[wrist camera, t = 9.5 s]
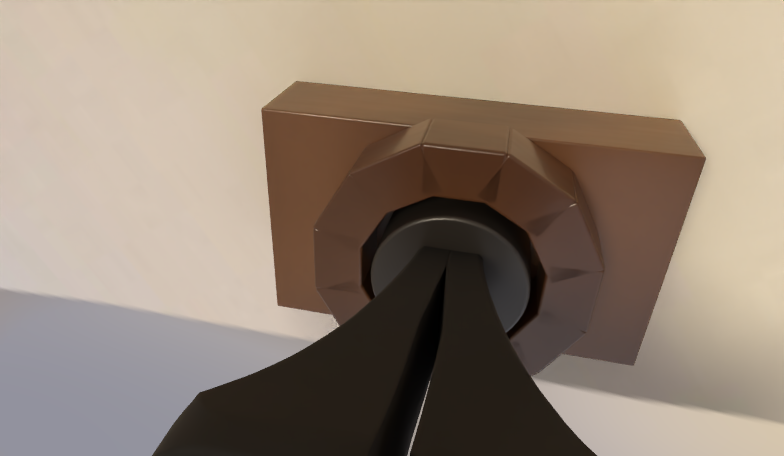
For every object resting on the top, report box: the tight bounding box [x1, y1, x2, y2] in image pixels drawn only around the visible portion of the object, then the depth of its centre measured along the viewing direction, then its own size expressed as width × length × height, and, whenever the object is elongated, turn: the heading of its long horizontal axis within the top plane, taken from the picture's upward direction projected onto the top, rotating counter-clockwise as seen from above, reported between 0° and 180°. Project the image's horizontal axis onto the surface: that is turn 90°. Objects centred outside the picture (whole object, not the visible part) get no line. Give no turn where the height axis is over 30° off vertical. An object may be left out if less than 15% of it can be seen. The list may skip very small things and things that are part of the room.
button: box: [371, 196, 531, 332], centre depth 13 cm, size 4×4×2 cm
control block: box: [262, 81, 706, 380], centre depth 15 cm, size 10×6×4 cm, turn 88°
